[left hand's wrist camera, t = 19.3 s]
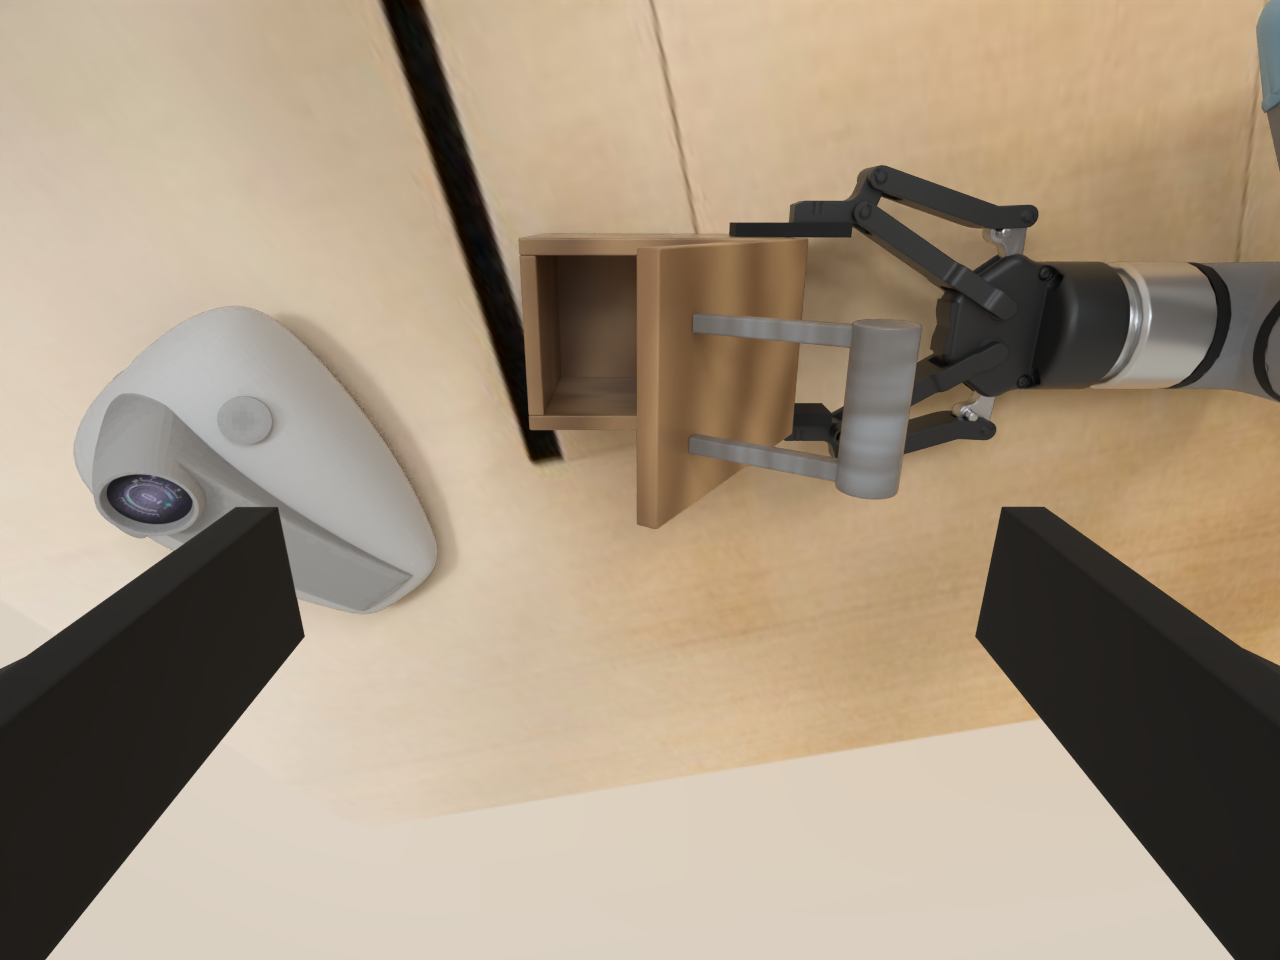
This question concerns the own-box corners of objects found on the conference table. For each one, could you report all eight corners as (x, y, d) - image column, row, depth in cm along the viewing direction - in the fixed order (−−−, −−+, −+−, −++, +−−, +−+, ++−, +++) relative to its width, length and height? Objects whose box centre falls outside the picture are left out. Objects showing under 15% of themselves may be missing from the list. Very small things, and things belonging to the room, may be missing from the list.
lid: (636, 524, 27) (868, 585, 22) (635, 247, 23) (914, 254, 19) (776, 431, 39) (946, 458, 34) (791, 238, 35) (983, 241, 31)
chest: (551, 386, 49) (529, 430, 39) (544, 233, 46) (518, 237, 35) (751, 385, 49) (782, 429, 39) (760, 233, 46) (797, 238, 35)
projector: (166, 579, 55) (8, 699, 41) (114, 284, 47) (-104, 312, 33) (443, 601, 55) (379, 726, 42) (439, 314, 47) (358, 354, 34)
